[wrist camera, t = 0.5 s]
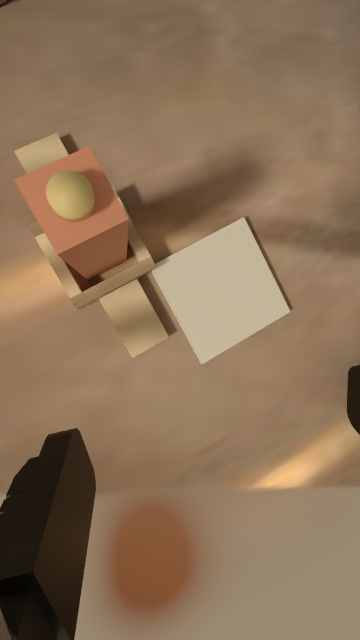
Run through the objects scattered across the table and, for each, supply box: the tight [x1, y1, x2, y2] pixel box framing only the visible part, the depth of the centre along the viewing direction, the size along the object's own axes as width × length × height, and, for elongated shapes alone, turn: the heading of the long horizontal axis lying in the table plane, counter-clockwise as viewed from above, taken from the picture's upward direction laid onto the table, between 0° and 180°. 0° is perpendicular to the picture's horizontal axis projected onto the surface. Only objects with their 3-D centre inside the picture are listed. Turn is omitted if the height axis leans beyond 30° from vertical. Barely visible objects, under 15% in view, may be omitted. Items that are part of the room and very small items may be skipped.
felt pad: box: [151, 217, 291, 364], centre depth 34 cm, size 12×12×1 cm
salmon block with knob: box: [14, 146, 129, 280], centre depth 24 cm, size 4×4×16 cm
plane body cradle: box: [14, 133, 169, 358], centre depth 31 cm, size 23×9×2 cm, turn 29°
